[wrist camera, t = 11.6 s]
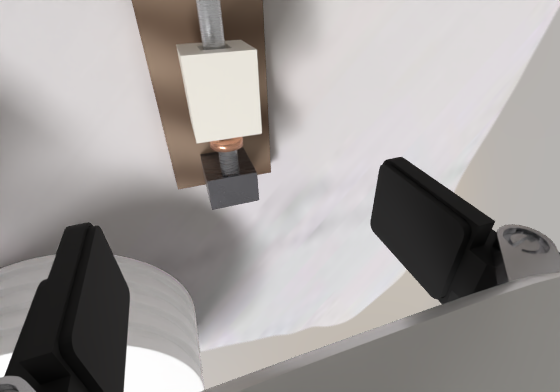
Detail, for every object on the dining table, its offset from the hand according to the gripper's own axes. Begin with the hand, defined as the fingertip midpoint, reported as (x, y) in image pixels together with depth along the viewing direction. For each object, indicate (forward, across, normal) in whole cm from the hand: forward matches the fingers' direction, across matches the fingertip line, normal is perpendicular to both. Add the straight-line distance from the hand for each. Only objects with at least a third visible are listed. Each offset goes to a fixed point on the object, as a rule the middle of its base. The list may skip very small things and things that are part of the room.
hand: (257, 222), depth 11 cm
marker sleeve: (+19, -2, 0) cm, 19 cm away
